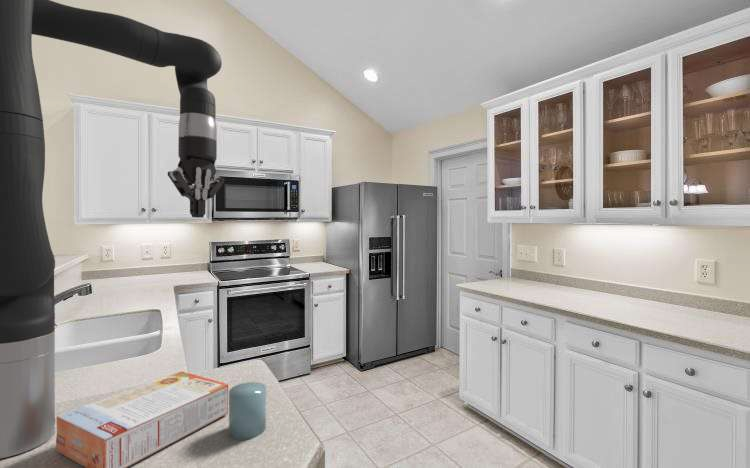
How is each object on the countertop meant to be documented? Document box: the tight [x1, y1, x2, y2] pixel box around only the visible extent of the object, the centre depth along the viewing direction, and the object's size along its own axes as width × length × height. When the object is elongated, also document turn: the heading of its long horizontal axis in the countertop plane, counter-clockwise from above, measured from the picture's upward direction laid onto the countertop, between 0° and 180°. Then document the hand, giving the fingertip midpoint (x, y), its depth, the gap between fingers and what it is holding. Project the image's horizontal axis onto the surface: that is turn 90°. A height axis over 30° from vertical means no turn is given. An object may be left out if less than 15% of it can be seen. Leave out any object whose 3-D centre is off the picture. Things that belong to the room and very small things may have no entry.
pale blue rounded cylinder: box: [228, 381, 267, 441], centre depth 63 cm, size 6×6×7 cm
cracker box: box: [55, 371, 229, 468], centre depth 62 cm, size 14×6×21 cm
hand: (197, 217), depth 80 cm, fingers closed
